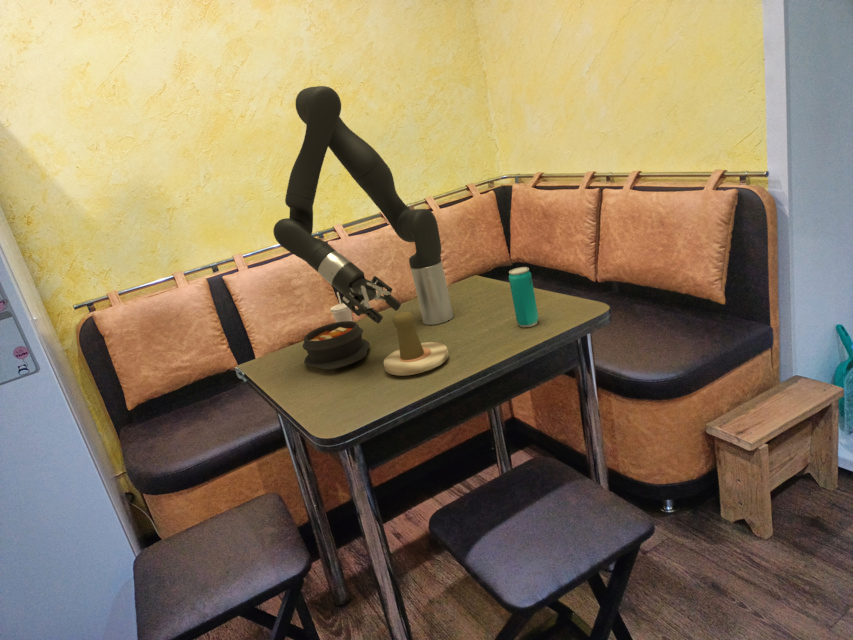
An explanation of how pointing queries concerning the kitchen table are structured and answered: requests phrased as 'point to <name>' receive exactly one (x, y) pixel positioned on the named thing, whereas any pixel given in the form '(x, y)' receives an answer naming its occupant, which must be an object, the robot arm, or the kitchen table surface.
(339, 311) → the smoothie
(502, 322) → the kitchen table surface
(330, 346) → the casserole
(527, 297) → the beverage can
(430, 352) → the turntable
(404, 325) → the brown pepper shaker
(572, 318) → the kitchen table surface
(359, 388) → the kitchen table surface
